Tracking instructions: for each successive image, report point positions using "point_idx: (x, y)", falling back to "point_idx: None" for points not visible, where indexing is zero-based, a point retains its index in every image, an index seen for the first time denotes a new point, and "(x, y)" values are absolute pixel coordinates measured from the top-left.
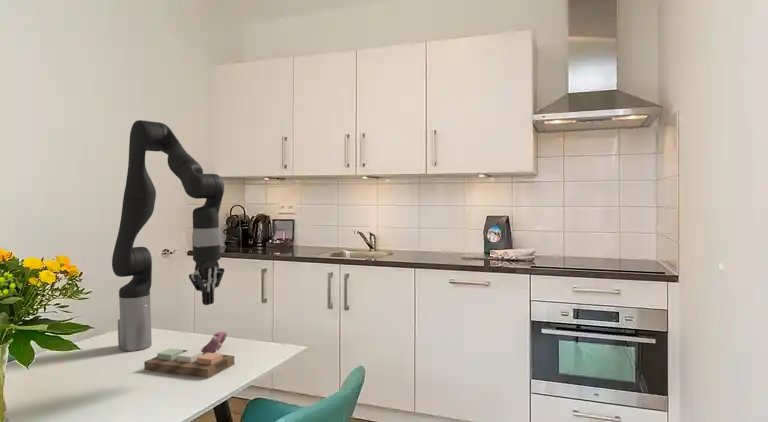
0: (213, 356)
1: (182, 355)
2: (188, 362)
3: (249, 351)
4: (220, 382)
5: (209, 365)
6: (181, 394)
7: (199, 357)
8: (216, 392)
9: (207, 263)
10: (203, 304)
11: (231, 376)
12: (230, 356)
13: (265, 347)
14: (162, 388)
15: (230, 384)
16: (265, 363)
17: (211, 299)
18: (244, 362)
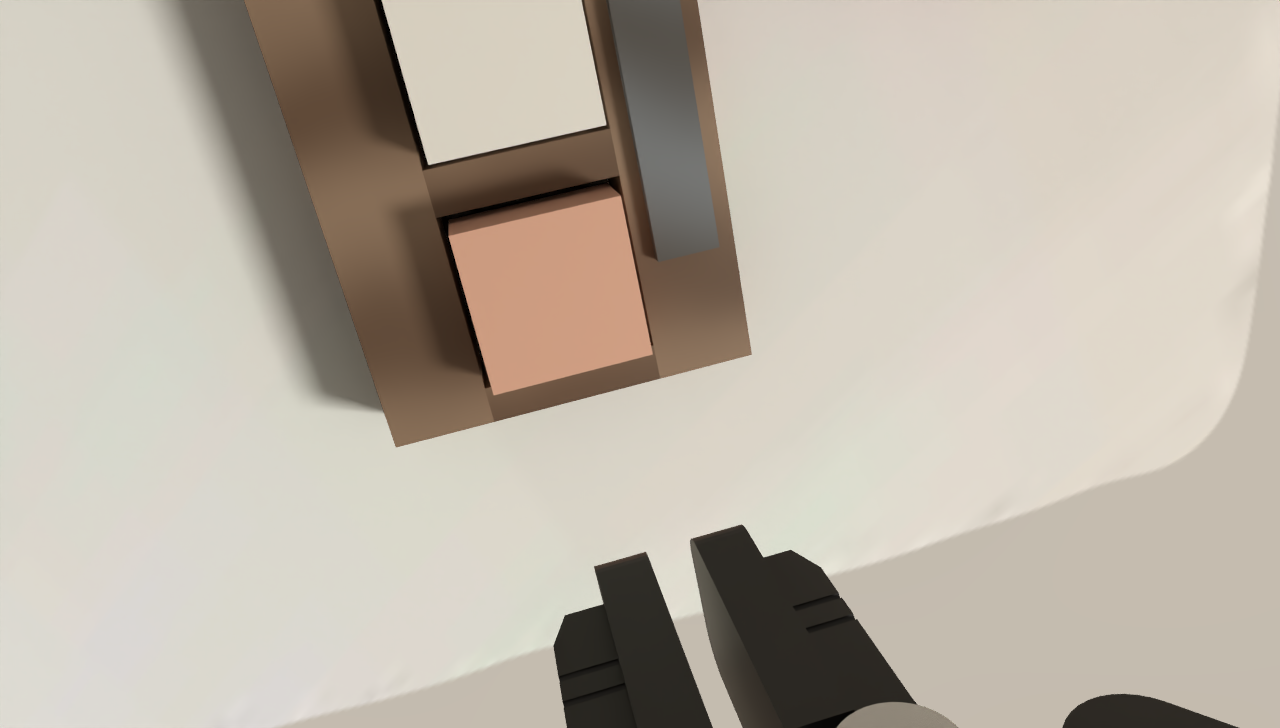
0: (562, 341)
1: (411, 28)
2: (411, 139)
3: (1027, 179)
4: (402, 549)
5: (468, 379)
6: (72, 522)
7: (471, 251)
8: (266, 669)
9: None
10: (596, 567)
11: (527, 517)
12: (726, 338)
13: (1151, 217)
14: (24, 296)
15: (418, 628)
16: (840, 503)
17: (741, 710)
18: (796, 361)
